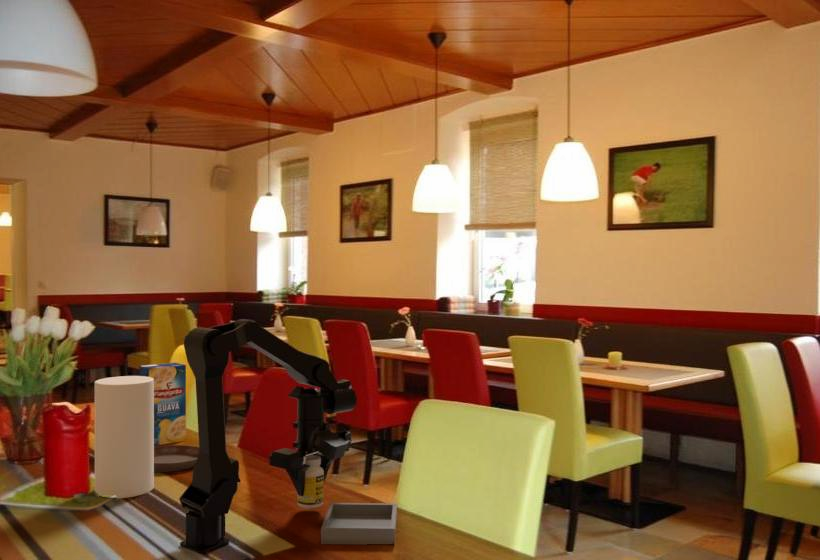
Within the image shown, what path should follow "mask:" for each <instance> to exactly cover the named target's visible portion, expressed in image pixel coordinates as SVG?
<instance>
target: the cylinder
mask: <svg viewBox="0 0 820 560" xmlns="http://www.w3.org/2000/svg"><path fill="white" fill-rule="evenodd" d="M154 447H155V446H154V379H153V378H151V377H146V376H139V375H123V376H121V375H119V376H112V377H103V378H99V379H97V380H95V381H94V492H95V491H96V492H97V493H98V494H100V495H116V496H117V498H116V499H127V498H133V497H138V496H141V495H144V494H147V493H149V492H151V491H152V490H153V489H154V487H155V471H154Z"/></svg>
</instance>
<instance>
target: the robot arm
mask: <svg viewBox="0 0 820 560" xmlns="http://www.w3.org/2000/svg"><path fill="white" fill-rule="evenodd" d="M245 345H248V346H250V347H251V348H253V349H255V350H257V351H258V352H259V353H261V354H263V355H265V356H266V357H268V358H270V359H271V360H273V361H275V362H276V363H278V364H279V365H281V366H282V367H283V368H284V369H285V371H286V373H287V374H288V375H289V376H290V378H292V379H293V380H294V381H295V382H297V383H298V384H303V385H308V386H311V387H307V388H306V387H303V386H300V385H296V386H295V387H294V389H292V390H291V391H290V392H289V393H288V395H287V396H288V397H289V398H291V399H295V400H297V403H296V405H297V406H296V407H297V410H296V411H297V412H296V416H297V417H296V421H295V422H293V423H292V427H293V428H294V429H297V430H296V432H297V433H296V441H293V442H292V449H291V448H288V447H287V448H286V447H282V448H280V449H277V450H273V451H271V453H270V454H269V457H268V458H269V461H268V462H269V466H271V467H276V468H279V469H283V470H285V471H286V473H287V474H288V476H289V478H290V480H291V483H292V485H293V486H294V489H295V491H296V494H297V493H298V495H299V496H303V495H304V488H305V472H306V470H307V469H308V468H309V467H310V465H307V464H305V458H306V457H309V456H312V455H315V456H320V457H321V464H320V465H319V466H320V467H322V468H323V470H324V483H325V482H326V478H327V475H328V473H329V470H330V467H331V464H332V463H333V462H335V460H336V459H338V458H343V457H345V454H346V452H348V451H350V448H352V433H351V432H350V431H349V430H348V429H344V430H340V431H339V432H337V431H335V432H333V431H332V430H331V424H330V422H329V421H326V414H327V415H333V414H335V415H336V414H338V413H339V414H340V413H345V412H346V413H347V412H350V411H353V410H354V409H355V408H356V406H357V403H358V398H357V395H356V392H355V390H354V388H353V387H352V385H351V380H347V379H340V380H336V377H335V376H334V375H333V372H332V371H331V367H330V366H331V365H330V362H328V361H327V360H326V359H324V358H321V357H318V356H316V355H313V354H310V353H307V352H304V351H301V350H298V349H297V348H295V347H293V346H292V345H290V344H289V343H287V342H286V341H285V340H283V339H282V338H280V337H278V336H277V335H275V334H273V333H272V332H271V331H269V330H267V329H266V328H264V327H263V326H262V325H260V324H259V323H258V322H257V321H256V320H253V319H246V318H245V319H244V318H241V319H237V320H235V321H232V322H229V323H225V324H224V323H223V324H219V325H215V326H210V327H207V328H206V327H199V326H198V327H195V328H193V329H190V331H189V332H188V334H186V335H185V336H184V340H183V347H184V352H185V357H186V360H187V364H188V366H189V368H190V369H191V372H192V373H193V376H194V380H195V395H196V411H197V429H198V430H197V431H198V444H199V445H198V447H199V456H198V458H197V461H196V463H195V465H194V467H192V468H193V471H192V481H191V483H190V484H189V485H188V486H187V488H186V489H185V490H184V492H183V493H182V494H181V496H180V497H179V500H178V501H179V503H180V506H181V508H182V509H183V510H184V509H185V510H187V511H188V512H186V513H185V540H182V541H180V542H179V545H180V546H181V547H184V548H187V549H190V550H192V551H194V552H198V553H201V554H204V553H208V552H210V551H212V550H213V549H217V548H219V547H221V546H224V545H226V544H228V543H230V542H231V541H230V538H228V537H226V515H227V514H229V511H230V509H231V505H232V502H233V497H234V496H235V495H236V494H237V491H238V485H239V483H241V482H242V481H241V479H240V474H239V472H240V471H239V470H240V463H239V460H237V459H235V458H232V457H230V456H229V455H228V452H227V440H226V422H225V421H226V418H225V403H224V401H225V400H224V399H225V398H224V382H223V378H224V377H223V375H224V373H225V371H226V368H227V366H228V364H229V360H230V353H231V352H233V351H237V350H238V349H240V348H242V347H243V346H245ZM317 388H319V390H318V389H317ZM293 448H295V449H297V450H295V449H293Z"/></svg>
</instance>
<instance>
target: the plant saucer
mask: <svg viewBox="0 0 820 560" xmlns="http://www.w3.org/2000/svg"><path fill="white" fill-rule="evenodd" d="M198 456H199V446H194V445H187V444H186V445H184V444H182V445H181V444H178V445H177V444H172V445H159V446H154V472H156V473H157V472H158V473H159V472H161V473H162V472H163V473H165V472H168V473H169V472H178V471H184V470H188V469H191V468H194V465H195V463H196V461H197V458H198Z"/></svg>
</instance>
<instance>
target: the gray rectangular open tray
mask: <svg viewBox="0 0 820 560" xmlns="http://www.w3.org/2000/svg"><path fill="white" fill-rule="evenodd" d="M397 514H398V504H397V503H388V502H387V503H386V502H385V503H382V502H381V503H378V502H377V503H376V502H373V503H370V502H369V503H368V502H367V503H366V502H365V503H364V502H330V503H329V505H328V507H327V511H326V513H325V516H324V519H323V521H322V525H321V526H320V544H321V545H362V544H361V543H364V544H363V545H367V544H393V543H395V544H396V535H395V534H396V533H397V522H398V520H397V518H398V515H397ZM355 543H357V544H355Z"/></svg>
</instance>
